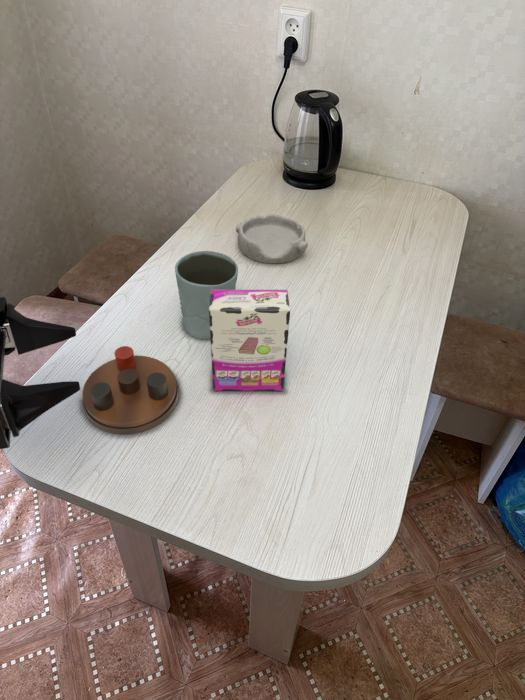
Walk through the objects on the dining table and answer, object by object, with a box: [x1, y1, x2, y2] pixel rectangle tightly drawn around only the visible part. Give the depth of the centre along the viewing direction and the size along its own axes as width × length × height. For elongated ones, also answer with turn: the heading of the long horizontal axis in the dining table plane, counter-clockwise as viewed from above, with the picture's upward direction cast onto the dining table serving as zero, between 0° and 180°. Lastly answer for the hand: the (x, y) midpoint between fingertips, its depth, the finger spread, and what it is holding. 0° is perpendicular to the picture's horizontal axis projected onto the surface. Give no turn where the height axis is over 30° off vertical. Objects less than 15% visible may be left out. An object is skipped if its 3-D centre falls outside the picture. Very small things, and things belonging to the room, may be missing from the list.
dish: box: [235, 213, 309, 264], centre depth 107 cm, size 14×14×5 cm
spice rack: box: [82, 345, 177, 428], centre depth 74 cm, size 14×14×4 cm
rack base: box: [82, 378, 179, 435], centre depth 76 cm, size 14×14×1 cm
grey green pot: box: [174, 250, 239, 340], centre depth 86 cm, size 10×10×12 cm
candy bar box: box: [209, 289, 291, 392], centre depth 75 cm, size 11×5×16 cm, turn 92°
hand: (77, 357), depth 57 cm, fingers open, 9 cm apart
